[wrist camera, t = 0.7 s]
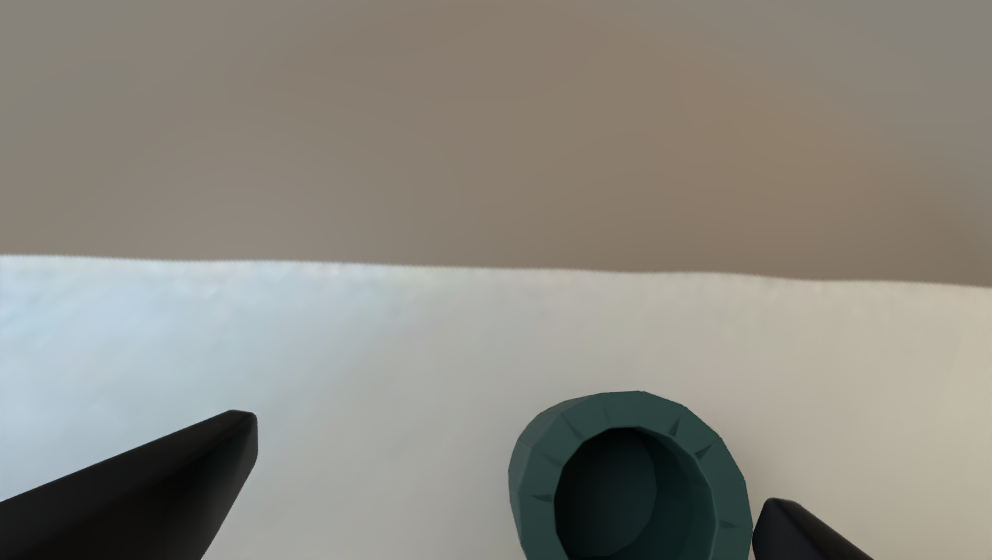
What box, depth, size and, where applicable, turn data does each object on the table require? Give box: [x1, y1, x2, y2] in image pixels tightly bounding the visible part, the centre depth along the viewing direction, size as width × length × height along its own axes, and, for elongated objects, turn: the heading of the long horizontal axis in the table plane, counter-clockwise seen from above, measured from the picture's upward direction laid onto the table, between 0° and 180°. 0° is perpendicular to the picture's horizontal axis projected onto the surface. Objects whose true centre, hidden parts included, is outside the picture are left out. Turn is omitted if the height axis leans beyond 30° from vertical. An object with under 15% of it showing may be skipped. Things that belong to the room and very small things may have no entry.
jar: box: [508, 391, 753, 560], centre depth 19 cm, size 7×7×8 cm
